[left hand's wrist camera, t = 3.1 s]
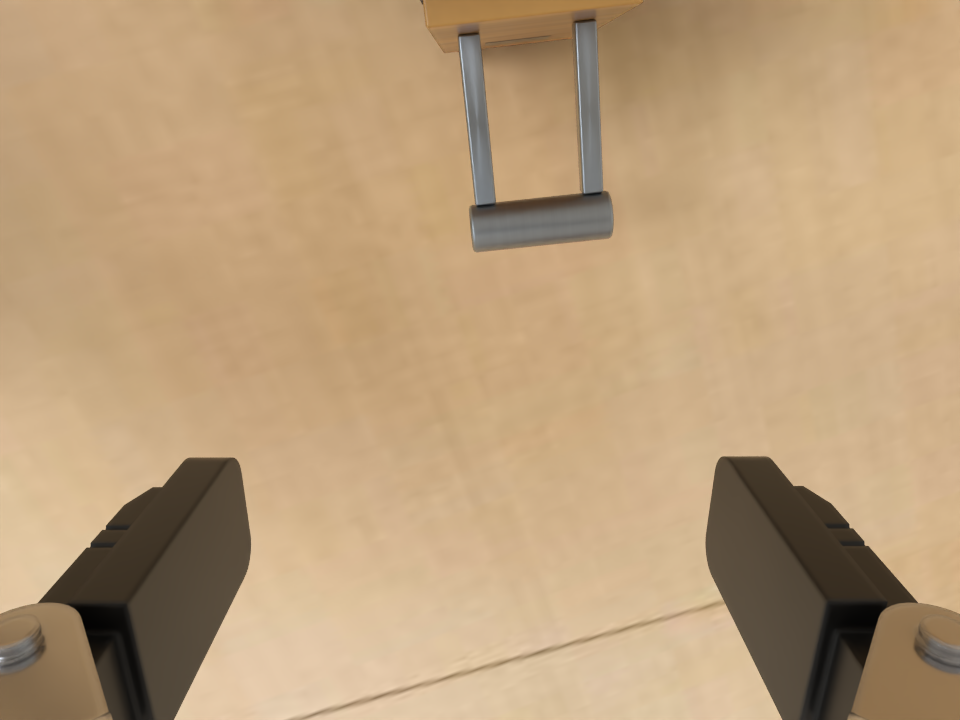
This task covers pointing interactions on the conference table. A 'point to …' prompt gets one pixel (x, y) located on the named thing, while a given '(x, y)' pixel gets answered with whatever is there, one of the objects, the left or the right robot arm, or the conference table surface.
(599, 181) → the drawer
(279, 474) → the conference table surface
